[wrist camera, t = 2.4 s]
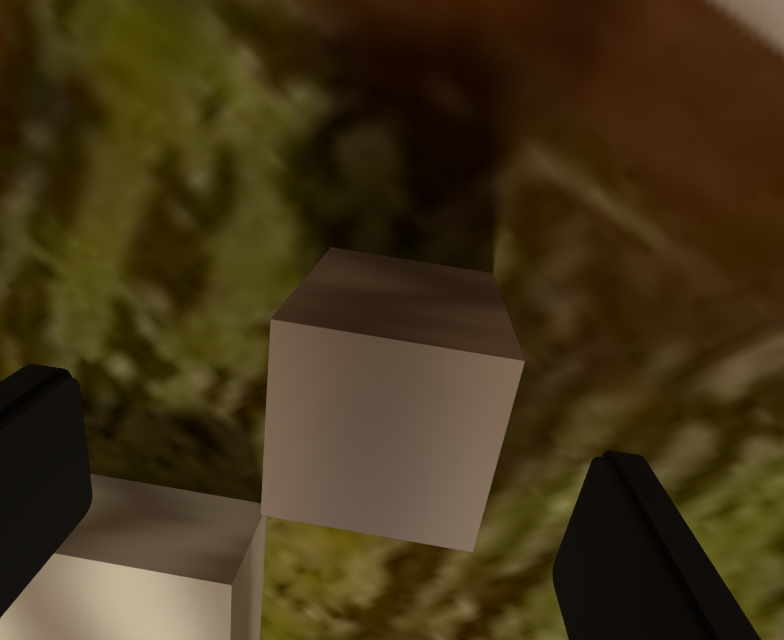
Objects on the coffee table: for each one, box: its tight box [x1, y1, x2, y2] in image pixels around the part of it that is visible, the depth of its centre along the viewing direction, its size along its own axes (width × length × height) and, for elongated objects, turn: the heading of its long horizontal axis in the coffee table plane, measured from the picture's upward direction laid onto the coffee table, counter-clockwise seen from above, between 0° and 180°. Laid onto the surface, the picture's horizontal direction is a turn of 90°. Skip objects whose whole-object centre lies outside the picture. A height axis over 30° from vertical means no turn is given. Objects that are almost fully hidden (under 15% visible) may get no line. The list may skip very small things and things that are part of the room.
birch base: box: [0, 474, 267, 640], centre depth 20 cm, size 12×12×4 cm
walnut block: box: [261, 247, 525, 552], centre depth 13 cm, size 5×5×6 cm
